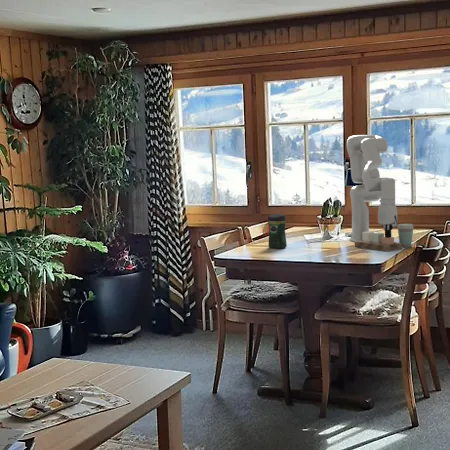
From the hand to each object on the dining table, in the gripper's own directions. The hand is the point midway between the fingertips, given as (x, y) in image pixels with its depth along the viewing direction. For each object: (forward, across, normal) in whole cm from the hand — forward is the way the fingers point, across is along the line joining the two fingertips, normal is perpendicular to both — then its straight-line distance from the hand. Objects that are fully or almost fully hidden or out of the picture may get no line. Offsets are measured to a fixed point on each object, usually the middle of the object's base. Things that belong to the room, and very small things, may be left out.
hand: (388, 237), depth 350 cm
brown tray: (+6, -7, 0) cm, 10 cm away
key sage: (+3, -7, 0) cm, 8 cm away
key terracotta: (+5, 0, 0) cm, 5 cm away
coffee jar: (+6, -45, -38) cm, 59 cm away
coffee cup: (+7, 0, +13) cm, 15 cm away
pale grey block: (+3, -14, 0) cm, 15 cm away
